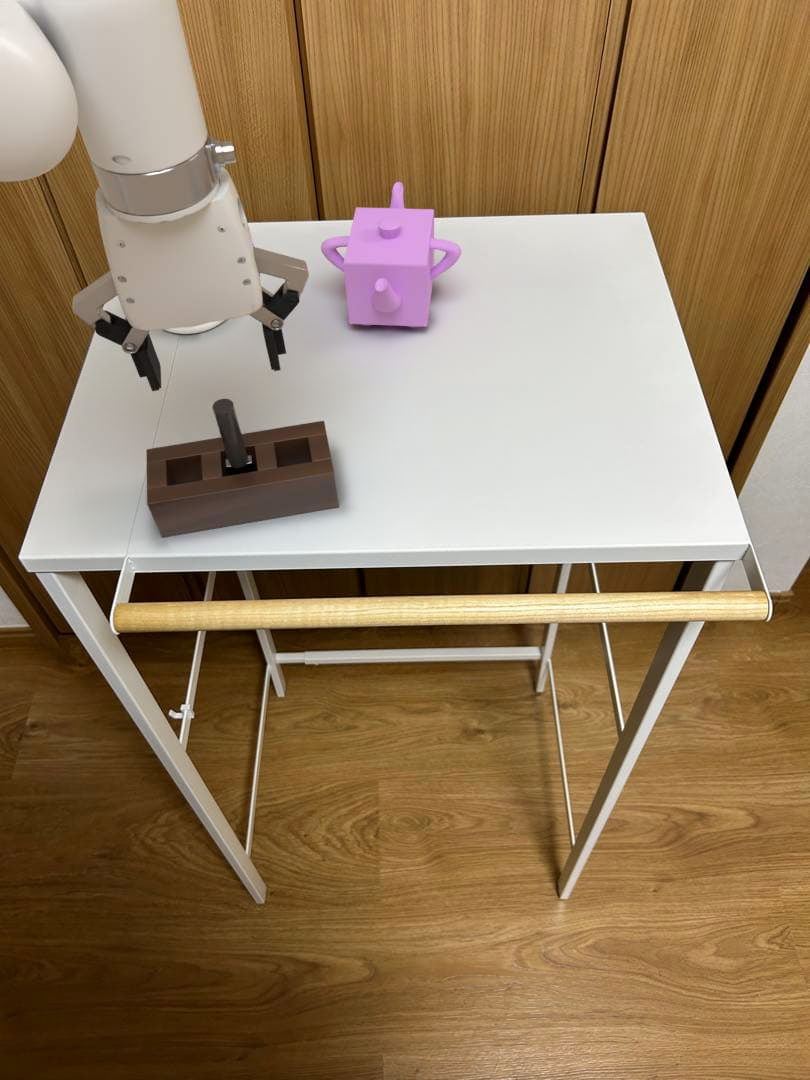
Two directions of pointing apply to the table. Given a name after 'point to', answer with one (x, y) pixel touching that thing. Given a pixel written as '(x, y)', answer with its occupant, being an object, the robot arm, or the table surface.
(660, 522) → the table surface
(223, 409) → the grey handled tool
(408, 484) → the table surface
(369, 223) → the teapot
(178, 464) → the utensil block
